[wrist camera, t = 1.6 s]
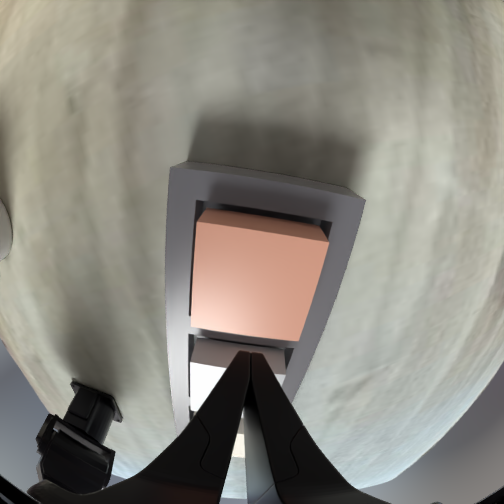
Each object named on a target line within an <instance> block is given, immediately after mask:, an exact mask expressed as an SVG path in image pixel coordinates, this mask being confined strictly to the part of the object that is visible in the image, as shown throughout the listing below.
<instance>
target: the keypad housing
mask: <svg viewBox="0 0 504 504" xmlns="http://www.w3.org/2000/svg"><path fill="white" fill-rule="evenodd" d="M365 202H366V200H365V199H363V198H362V197H360V196H359V195H357V194H356V193H354V192H353V191H351V190H350V189H348V188H345V187H341V186H337V185H332V184H328V183H323V182H318V181H313V180H308V179H303V178H298V177H293V176H288V175H282V174H276V173H271V172H265V171H259V170H252V169H246V168H239V167H231V166H224V165H216V164H208V163H199V162H190V161H186V162H183V163H180V164H178V165H175V166H172V167H170V174H169V187H168V201H167V219H166V246H165V304H166V331H167V349H168V363H169V375H170V386H171V395H172V404H173V412H174V420H175V427H176V434H177V437H178V436H179V435H180V433H181V432H182V431H183V430H184V428H185V427H186V426H187V425H188V423H189V422H190V421H191V419H192V418H193V415H194V411H192V410H191V404H190V361H191V357H192V354H193V350H194V346H195V343H196V339H197V337H199V338H205V339H211V340H217V341H223V342H230V343H237V344H244V345H251V346H259V347H268V348H277V349H284V356H285V368H286V376H285V379H284V381H283V384H282V388H283V390H284V392H285V394H286V395H287V397H288V399H289V401H290V402H291V403H292V401H293V399H294V397H295V395H296V393H297V391H298V389H299V386H300V384H301V382H302V380H303V378H304V376H305V373H306V371H307V369H308V367H309V364H310V362H311V360H312V357H313V355H314V353H315V350H316V348H317V346H318V343H319V341H320V338H321V336H322V333H323V331H324V328H325V326H326V323H327V320H328V318H329V315H330V313H331V310H332V307H333V305H334V302H335V299H336V296H337V293H338V291H339V288H340V285H341V282H342V279H343V276H344V273H345V270H346V267H347V264H348V261H349V258H350V254H351V251H352V248H353V245H354V241H355V238H356V234H357V231H358V228H359V224H360V220H361V217H362V213H363V209H364V205H365ZM206 208H213V209H220V210H227V211H234V212H241V213H247V214H254V215H260V216H266V217H272V218H278V219H284V220H290V221H296V222H302V223H307V224H313V225H318V226H320V228H321V230H322V231H323V233H324V234H325V236H326V238H327V239H328V241H329V246H328V249H327V253H326V256H325V260H324V263H323V267H322V270H321V274H320V277H319V280H318V284H317V287H316V290H315V293H314V296H313V300H312V303H311V306H310V309H309V312H308V315H307V318H306V321H305V324H304V327H303V330H302V333H301V335H300V338H299V341H289V340H280V339H271V338H263V337H255V336H247V335H240V334H233V333H226V332H220V331H214V330H208V329H202V328H196V327H191V305H192V284H193V267H194V252H195V238H196V226H197V221H198V219H199V218H200V217H201V215H202V214H203V212H204V211H205V210H206Z"/></svg>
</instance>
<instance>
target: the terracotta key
mask: <svg viewBox="0 0 504 504" xmlns="http://www.w3.org/2000/svg"><path fill="white" fill-rule="evenodd" d="M328 246H329V241H328V239H327V238H326V236H325V234H324V233H323V231H322V230H321V228H320V226H318V225H313V224H307V223H302V222H296V221H290V220H284V219H278V218H272V217H266V216H260V215H254V214H247V213H241V212H234V211H227V210H220V209H213V208H206V210H205V211H204V212H203V214H202V215H201V217H200V218H199V219H198V221H197V226H196V238H195V252H194V267H193V284H192V305H191V327H196V328H202V329H208V330H214V331H220V332H226V333H233V334H240V335H247V336H255V337H263V338H271V339H280V340H289V341H299V338H300V335H301V333H302V330H303V327H304V324H305V321H306V318H307V315H308V312H309V309H310V306H311V303H312V300H313V296H314V293H315V290H316V287H317V284H318V280H319V277H320V274H321V270H322V267H323V263H324V260H325V256H326V253H327V249H328Z"/></svg>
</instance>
